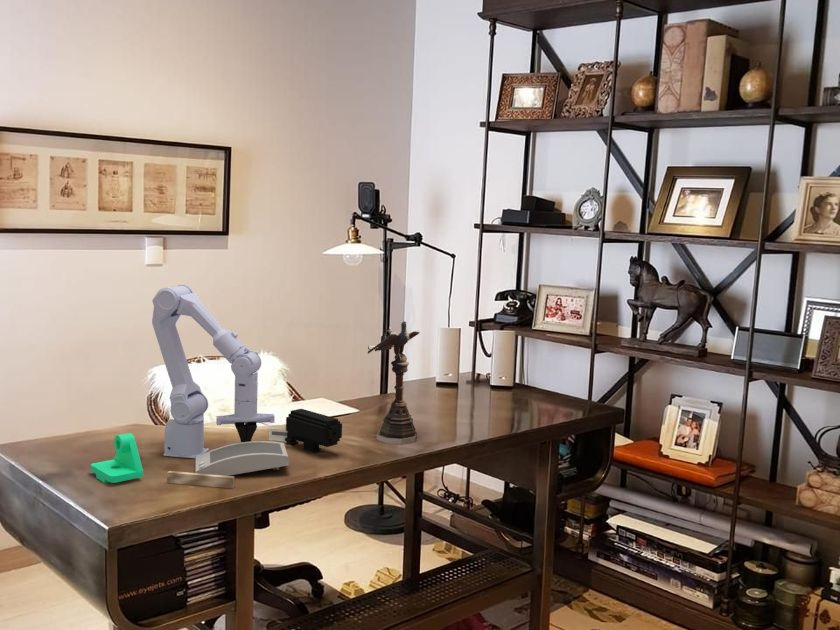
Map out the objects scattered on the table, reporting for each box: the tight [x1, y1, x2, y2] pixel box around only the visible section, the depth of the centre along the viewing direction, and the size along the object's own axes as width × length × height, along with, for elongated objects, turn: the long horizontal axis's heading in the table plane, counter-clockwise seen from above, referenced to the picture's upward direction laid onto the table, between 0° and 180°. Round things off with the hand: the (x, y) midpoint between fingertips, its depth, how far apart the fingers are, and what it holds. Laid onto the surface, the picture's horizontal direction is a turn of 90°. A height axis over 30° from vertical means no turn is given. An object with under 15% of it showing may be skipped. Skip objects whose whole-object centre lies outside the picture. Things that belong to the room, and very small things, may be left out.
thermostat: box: [195, 440, 290, 476], centre depth 209 cm, size 11×22×6 cm, turn 105°
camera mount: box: [90, 432, 144, 484], centre depth 200 cm, size 12×8×10 cm, turn 45°
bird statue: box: [367, 321, 421, 446], centre depth 242 cm, size 17×13×35 cm
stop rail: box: [166, 470, 236, 489], centre depth 197 cm, size 16×1×2 cm, turn 82°
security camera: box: [285, 408, 343, 454], centre depth 228 cm, size 7×18×10 cm, turn 49°
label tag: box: [268, 427, 287, 443], centre depth 235 cm, size 6×1×4 cm, turn 83°
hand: (245, 450), depth 217 cm, fingers closed
